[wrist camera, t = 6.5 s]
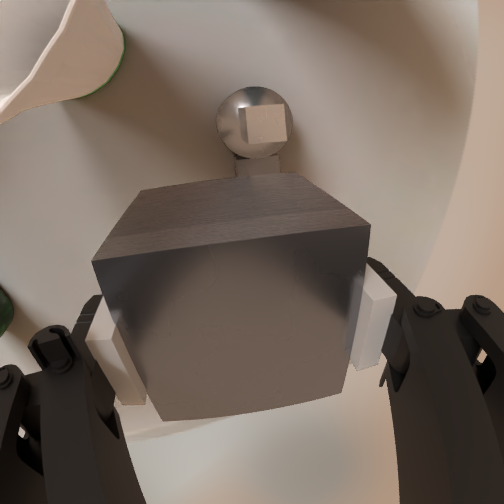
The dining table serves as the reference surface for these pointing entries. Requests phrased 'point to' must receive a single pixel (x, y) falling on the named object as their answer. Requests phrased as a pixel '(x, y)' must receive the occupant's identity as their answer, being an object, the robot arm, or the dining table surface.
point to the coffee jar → (5, 312)
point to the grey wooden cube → (235, 293)
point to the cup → (55, 51)
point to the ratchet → (255, 129)
